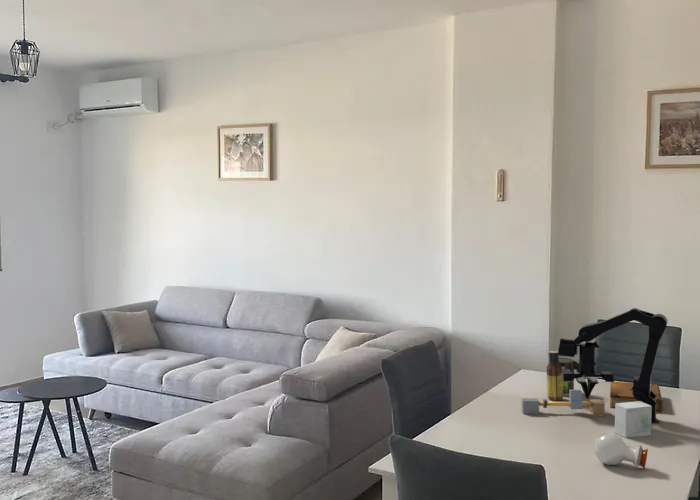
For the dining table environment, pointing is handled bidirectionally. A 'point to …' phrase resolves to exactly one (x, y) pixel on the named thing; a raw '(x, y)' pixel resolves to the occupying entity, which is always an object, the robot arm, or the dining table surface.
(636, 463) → the potion bottle
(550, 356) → the sauce bottle
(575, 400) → the notched blue-grey block
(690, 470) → the dining table surface
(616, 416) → the skincare box
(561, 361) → the coffee can
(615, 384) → the diary
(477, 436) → the dining table surface
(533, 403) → the rail
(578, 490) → the dining table surface
